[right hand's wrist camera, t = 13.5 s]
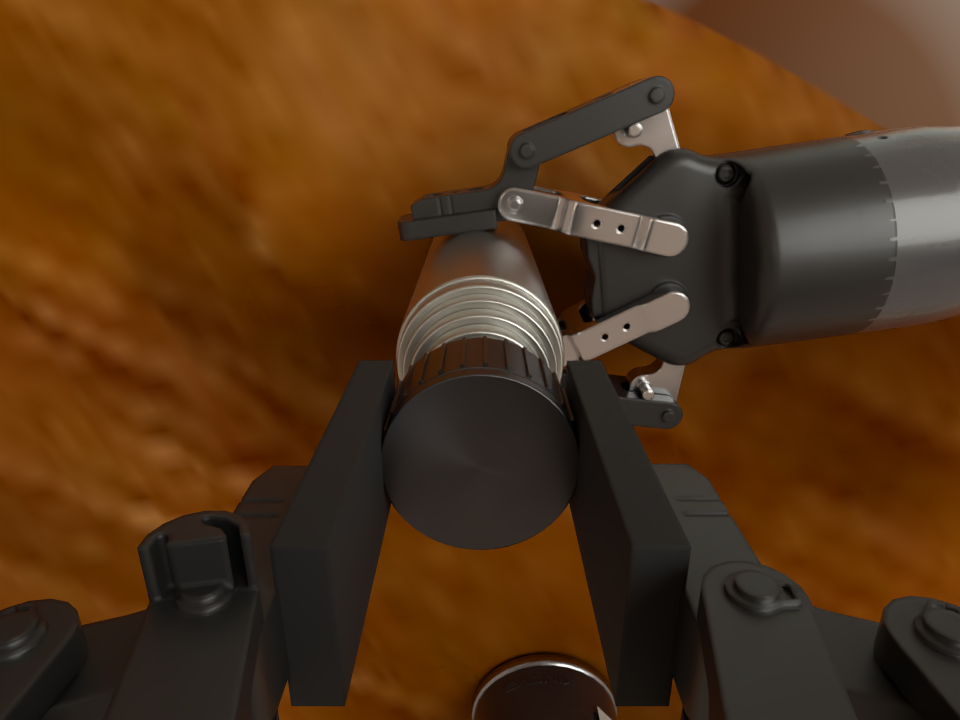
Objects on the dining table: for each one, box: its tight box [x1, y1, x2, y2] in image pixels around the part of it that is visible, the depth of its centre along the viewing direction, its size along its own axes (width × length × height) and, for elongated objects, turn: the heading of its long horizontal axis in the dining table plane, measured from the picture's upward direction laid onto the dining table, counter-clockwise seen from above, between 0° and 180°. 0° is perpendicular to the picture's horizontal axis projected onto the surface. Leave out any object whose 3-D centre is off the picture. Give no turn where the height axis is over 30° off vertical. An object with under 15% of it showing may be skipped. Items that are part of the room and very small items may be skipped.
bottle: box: [396, 220, 565, 384], centre depth 22 cm, size 5×5×20 cm
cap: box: [381, 336, 579, 550], centre depth 14 cm, size 4×4×2 cm
